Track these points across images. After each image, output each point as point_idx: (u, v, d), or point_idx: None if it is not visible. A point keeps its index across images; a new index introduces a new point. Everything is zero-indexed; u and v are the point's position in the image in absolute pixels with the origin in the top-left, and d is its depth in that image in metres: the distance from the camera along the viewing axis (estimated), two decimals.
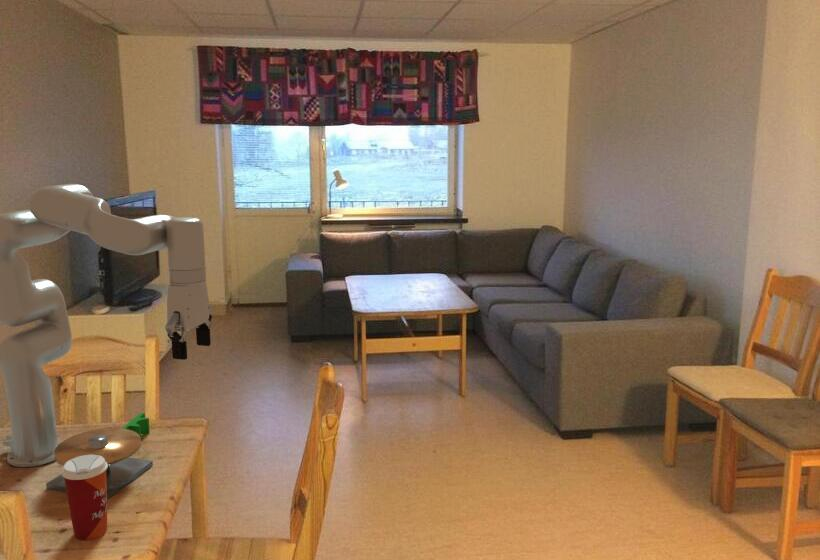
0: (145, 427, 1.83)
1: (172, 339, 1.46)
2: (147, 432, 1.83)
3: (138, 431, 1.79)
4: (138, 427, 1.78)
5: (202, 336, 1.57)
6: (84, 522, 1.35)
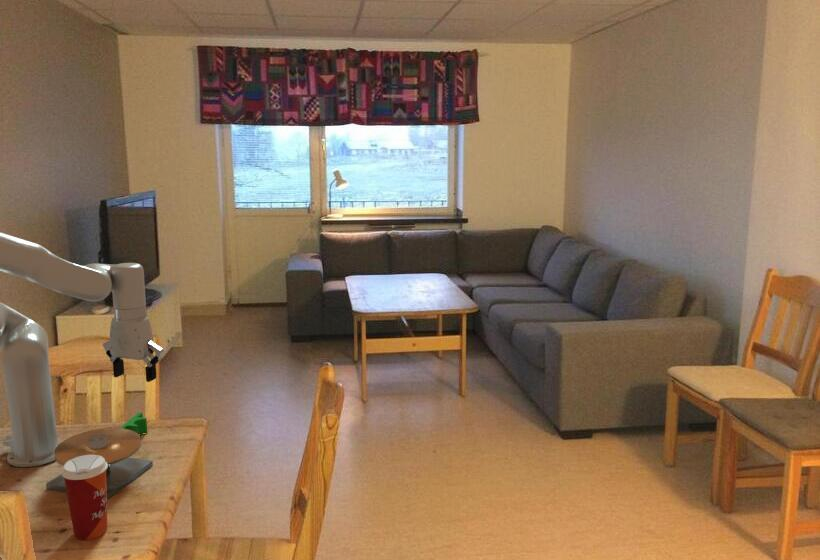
0: (143, 427, 1.83)
1: (155, 363, 1.74)
2: (145, 432, 1.83)
3: (135, 431, 1.79)
4: (136, 427, 1.78)
5: (120, 367, 1.78)
6: (84, 522, 1.35)
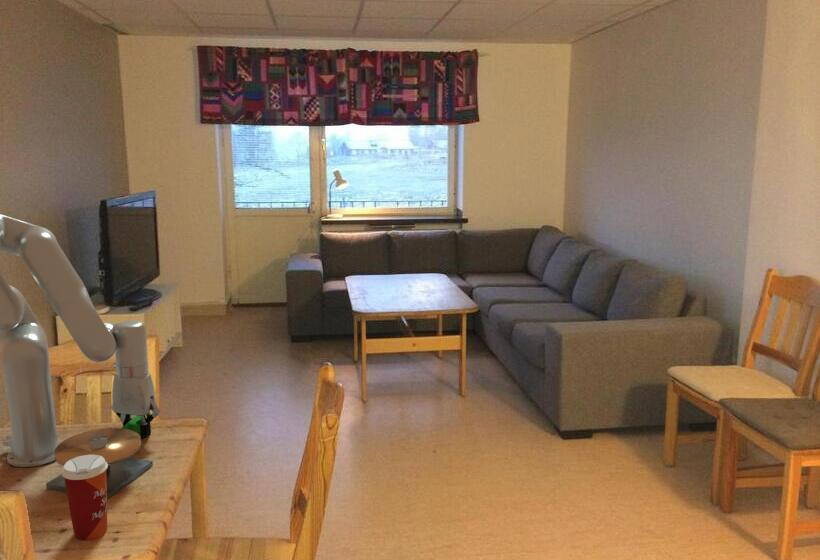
0: None
1: (149, 421, 1.79)
2: None
3: (137, 431, 1.79)
4: (138, 427, 1.78)
5: None
6: (84, 522, 1.35)
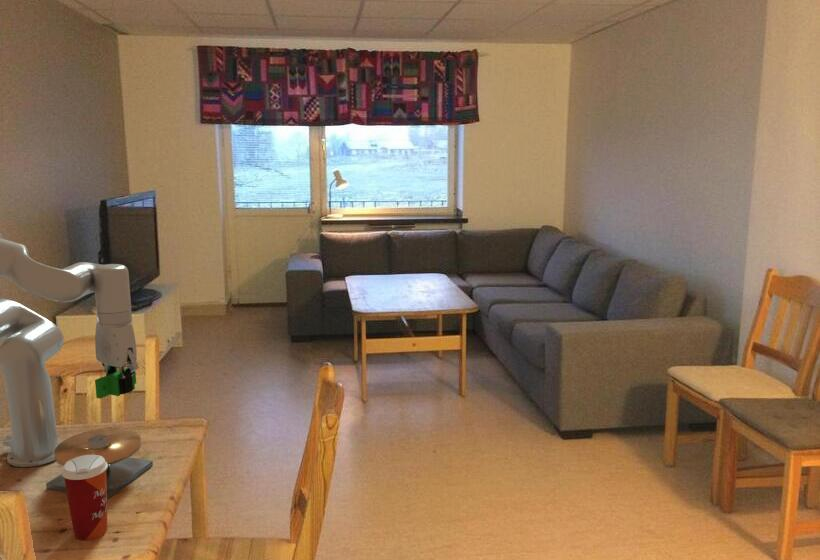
0: None
1: (128, 375, 1.64)
2: None
3: (116, 384, 1.65)
4: (116, 379, 1.65)
5: None
6: (84, 522, 1.35)
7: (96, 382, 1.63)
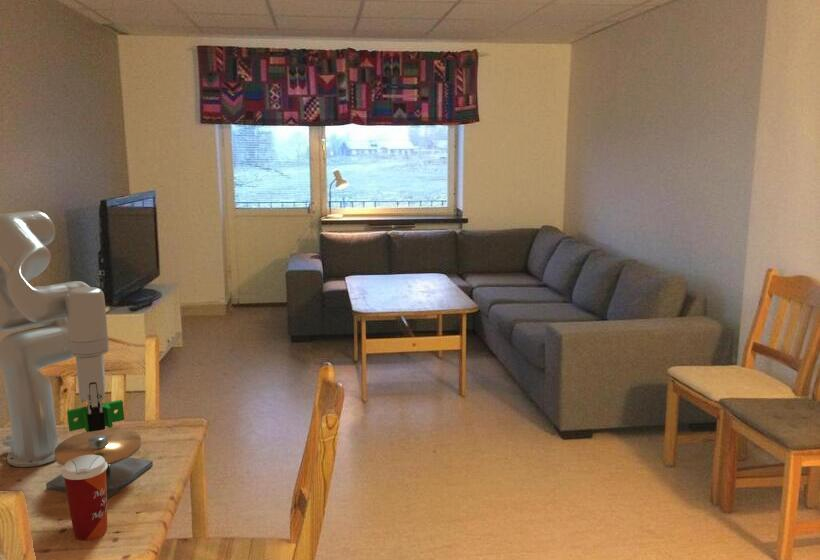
0: (107, 417, 1.52)
1: (93, 412, 1.48)
2: (108, 424, 1.52)
3: (85, 419, 1.49)
4: (85, 414, 1.49)
5: None
6: (84, 522, 1.35)
7: (67, 413, 1.50)
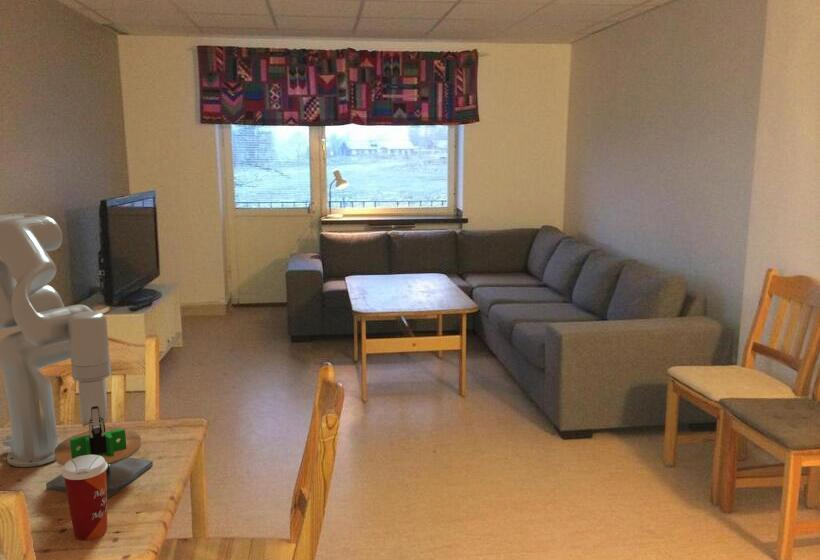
0: (108, 447, 1.54)
1: (95, 436, 1.47)
2: (110, 453, 1.54)
3: (86, 448, 1.51)
4: (86, 443, 1.51)
5: None
6: (84, 522, 1.35)
7: (70, 441, 1.52)
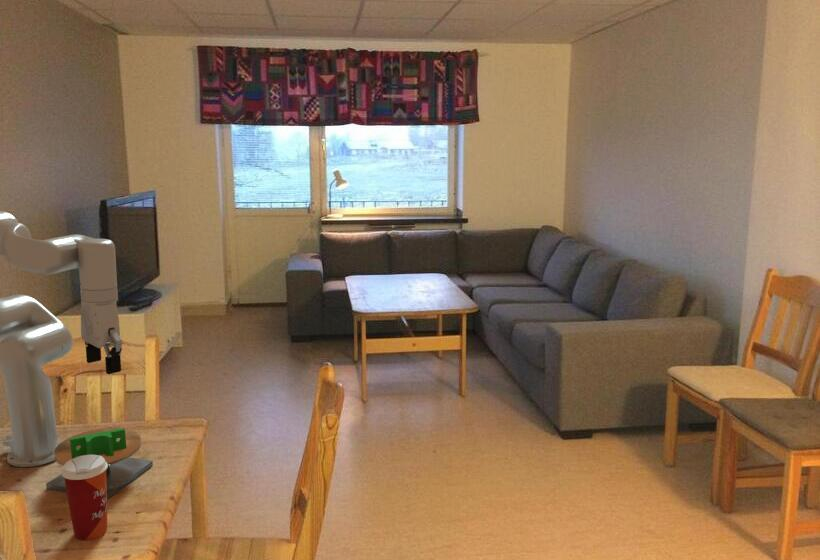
0: (108, 446, 1.54)
1: (114, 354, 1.54)
2: (109, 453, 1.54)
3: (86, 447, 1.51)
4: (86, 443, 1.51)
5: (94, 352, 1.62)
6: (84, 522, 1.35)
7: (70, 441, 1.52)
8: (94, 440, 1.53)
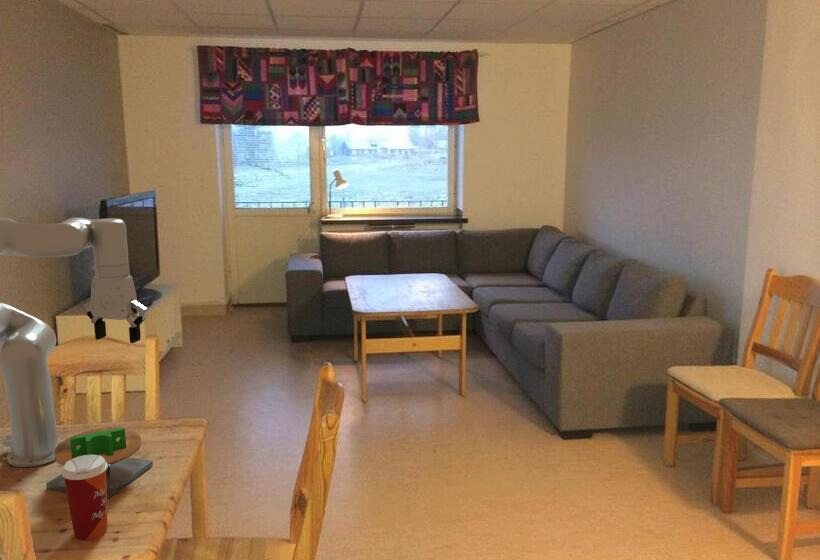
0: (108, 446, 1.54)
1: (139, 323, 1.67)
2: (109, 452, 1.54)
3: (86, 447, 1.52)
4: (86, 442, 1.51)
5: (101, 329, 1.70)
6: (84, 522, 1.35)
7: (70, 440, 1.53)
8: (94, 440, 1.53)
